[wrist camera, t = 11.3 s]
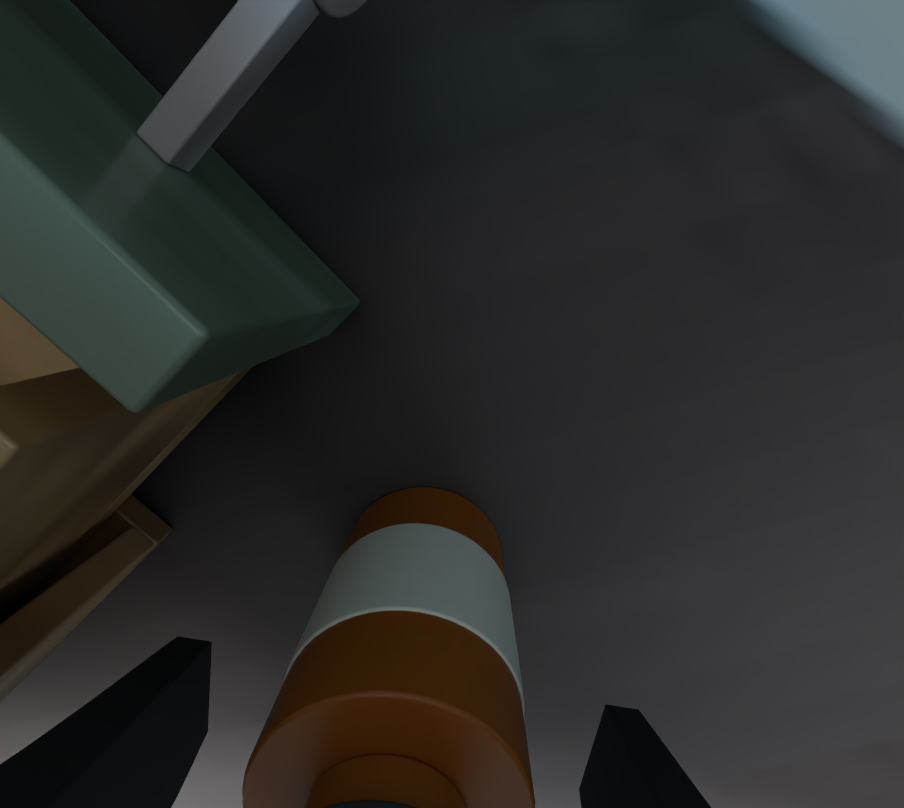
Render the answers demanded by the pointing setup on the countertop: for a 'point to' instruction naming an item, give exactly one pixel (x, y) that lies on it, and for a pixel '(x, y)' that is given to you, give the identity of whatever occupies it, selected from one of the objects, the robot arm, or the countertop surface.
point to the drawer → (130, 266)
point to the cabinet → (77, 589)
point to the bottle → (403, 673)
